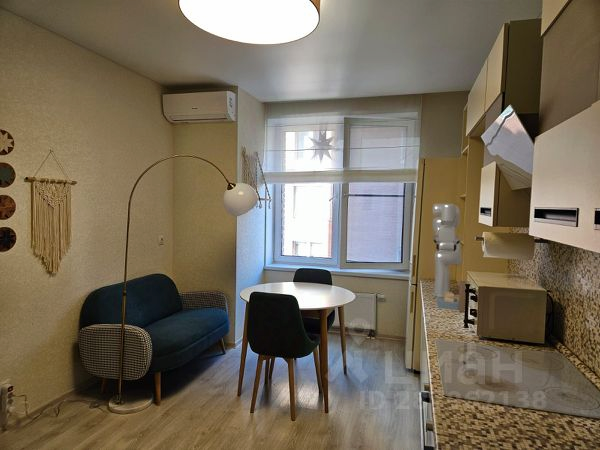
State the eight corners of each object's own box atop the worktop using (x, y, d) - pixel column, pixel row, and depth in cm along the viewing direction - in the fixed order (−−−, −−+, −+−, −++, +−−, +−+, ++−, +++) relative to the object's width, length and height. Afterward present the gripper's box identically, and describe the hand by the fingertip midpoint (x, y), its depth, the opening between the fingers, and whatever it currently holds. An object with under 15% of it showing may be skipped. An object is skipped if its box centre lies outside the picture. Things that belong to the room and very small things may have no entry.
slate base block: (436, 303, 238) (437, 297, 237) (457, 305, 234) (457, 299, 234) (437, 308, 226) (438, 302, 226) (459, 310, 223) (459, 304, 222)
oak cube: (443, 299, 233) (443, 291, 232) (451, 300, 232) (452, 292, 231) (444, 301, 228) (445, 293, 227) (453, 302, 227) (453, 294, 226)
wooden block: (474, 311, 220) (476, 281, 219) (476, 313, 215) (477, 283, 214) (458, 310, 222) (459, 280, 221) (459, 312, 218) (460, 282, 217)
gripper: (461, 223, 232) (460, 250, 233) (432, 223, 237) (431, 249, 238) (462, 224, 225) (461, 252, 226) (432, 223, 230) (431, 250, 231)
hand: (446, 250), depth 232 cm, fingers open, 9 cm apart
